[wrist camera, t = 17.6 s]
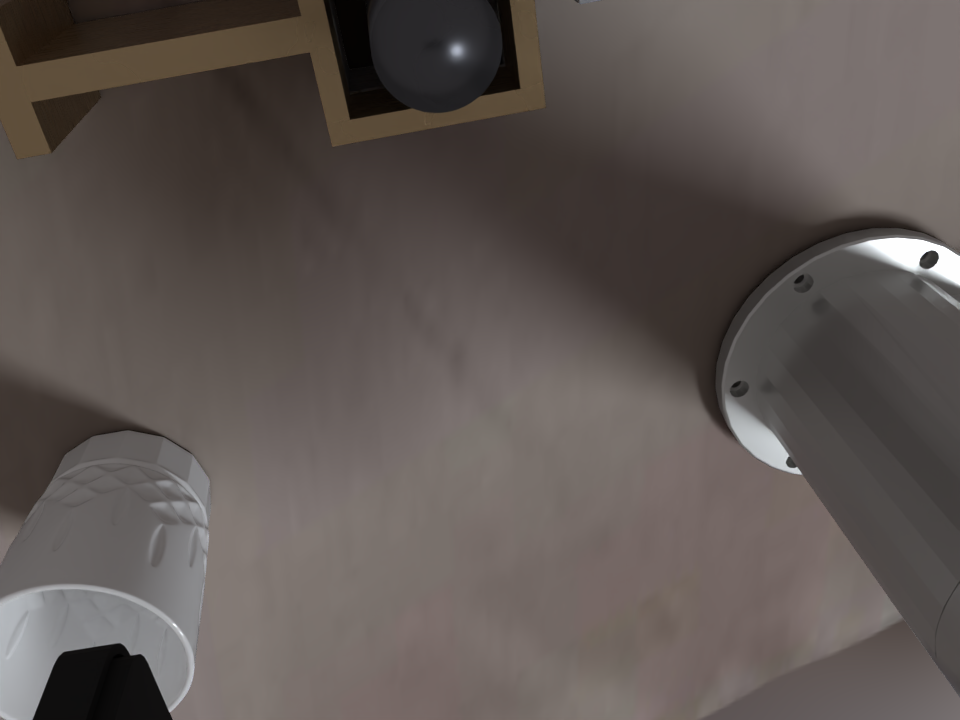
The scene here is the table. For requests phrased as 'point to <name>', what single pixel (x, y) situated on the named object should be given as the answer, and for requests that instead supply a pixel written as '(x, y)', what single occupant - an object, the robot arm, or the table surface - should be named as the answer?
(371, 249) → the table surface
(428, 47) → the pin
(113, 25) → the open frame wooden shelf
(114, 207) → the table surface
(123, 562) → the white cup
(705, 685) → the table surface
